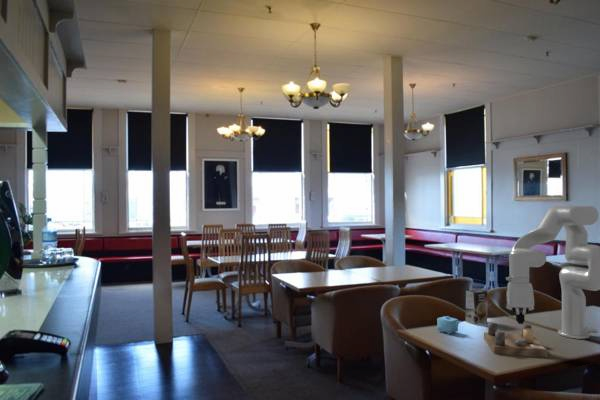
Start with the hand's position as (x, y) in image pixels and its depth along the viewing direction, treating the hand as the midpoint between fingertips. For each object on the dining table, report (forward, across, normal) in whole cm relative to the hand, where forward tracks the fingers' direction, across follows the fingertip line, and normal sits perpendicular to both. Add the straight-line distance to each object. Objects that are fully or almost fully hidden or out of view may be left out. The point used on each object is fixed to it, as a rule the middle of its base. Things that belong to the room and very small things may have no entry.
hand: (520, 323), depth 191 cm
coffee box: (+11, -11, +38) cm, 41 cm away
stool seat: (+10, -3, -1) cm, 11 cm away
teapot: (+10, -27, +16) cm, 33 cm away
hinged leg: (+7, 0, -5) cm, 8 cm away
